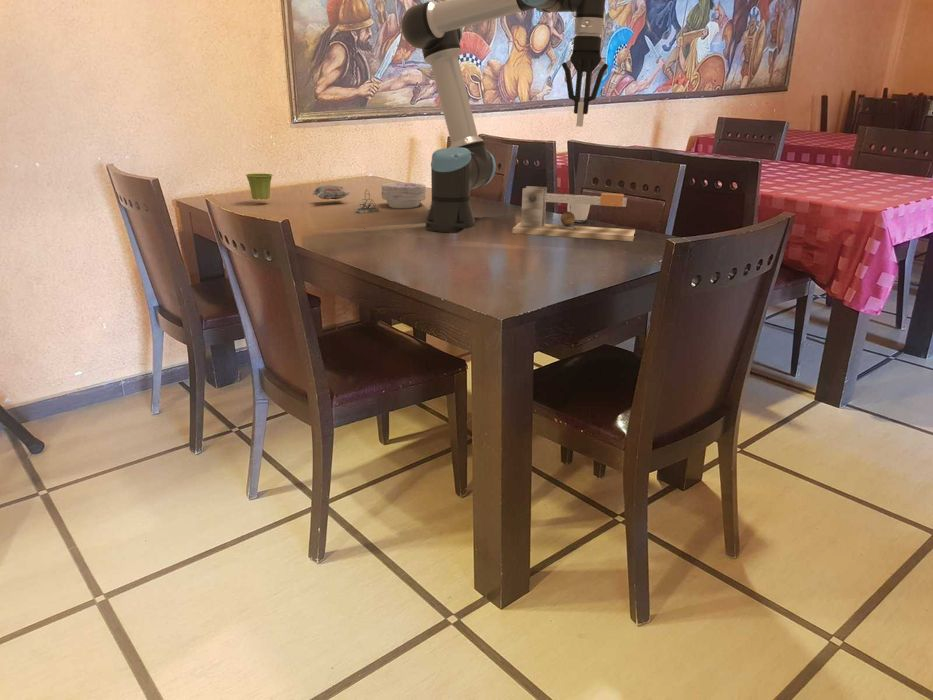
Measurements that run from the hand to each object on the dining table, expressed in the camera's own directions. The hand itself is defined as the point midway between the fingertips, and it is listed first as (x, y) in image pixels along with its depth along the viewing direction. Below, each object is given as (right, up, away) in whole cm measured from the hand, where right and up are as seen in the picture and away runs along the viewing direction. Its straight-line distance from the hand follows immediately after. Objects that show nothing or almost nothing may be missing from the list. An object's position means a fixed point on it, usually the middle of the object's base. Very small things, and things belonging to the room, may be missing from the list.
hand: (579, 126), depth 197 cm
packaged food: (-84, -11, +54) cm, 101 cm away
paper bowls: (-54, -14, +44) cm, 71 cm away
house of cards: (-65, -17, +37) cm, 77 cm away
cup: (+3, -23, +22) cm, 32 cm away
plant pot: (-108, -8, +58) cm, 123 cm away
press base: (-1, -30, +2) cm, 31 cm away
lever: (-1, -23, -1) cm, 23 cm away
